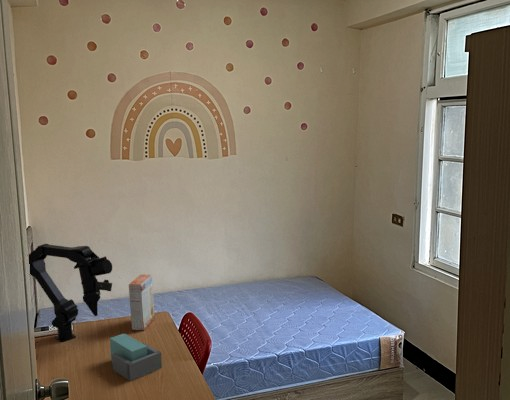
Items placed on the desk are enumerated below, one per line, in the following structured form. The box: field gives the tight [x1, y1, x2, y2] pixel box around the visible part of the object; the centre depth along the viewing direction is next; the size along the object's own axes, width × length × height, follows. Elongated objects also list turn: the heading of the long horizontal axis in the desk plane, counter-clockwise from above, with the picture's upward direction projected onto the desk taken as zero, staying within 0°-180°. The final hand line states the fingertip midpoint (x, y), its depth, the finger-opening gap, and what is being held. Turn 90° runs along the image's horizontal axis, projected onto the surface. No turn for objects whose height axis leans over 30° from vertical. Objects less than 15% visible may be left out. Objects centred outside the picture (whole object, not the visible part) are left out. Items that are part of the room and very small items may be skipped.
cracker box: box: [128, 274, 155, 331], centre depth 219 cm, size 14×6×21 cm, turn 172°
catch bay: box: [111, 342, 163, 382], centre depth 180 cm, size 12×13×6 cm
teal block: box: [109, 333, 147, 362], centre depth 183 cm, size 16×6×9 cm, turn 44°
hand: (96, 315), depth 199 cm, fingers closed
